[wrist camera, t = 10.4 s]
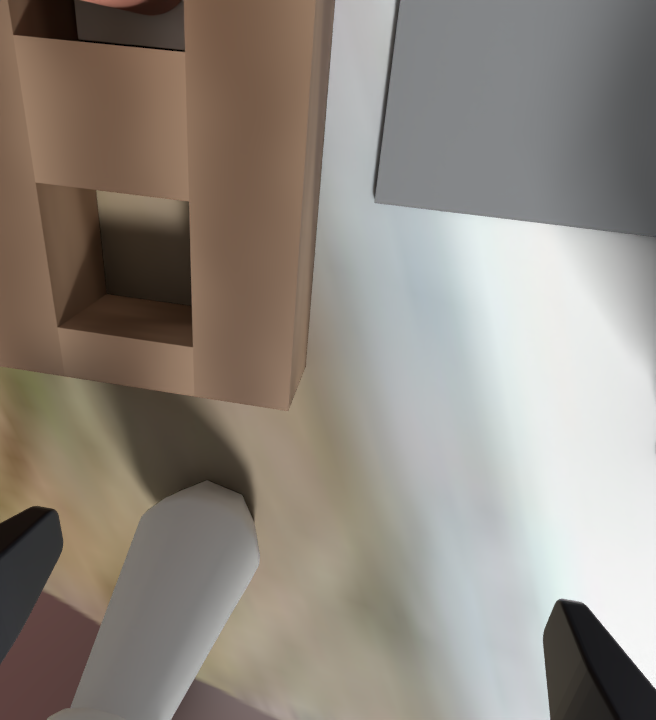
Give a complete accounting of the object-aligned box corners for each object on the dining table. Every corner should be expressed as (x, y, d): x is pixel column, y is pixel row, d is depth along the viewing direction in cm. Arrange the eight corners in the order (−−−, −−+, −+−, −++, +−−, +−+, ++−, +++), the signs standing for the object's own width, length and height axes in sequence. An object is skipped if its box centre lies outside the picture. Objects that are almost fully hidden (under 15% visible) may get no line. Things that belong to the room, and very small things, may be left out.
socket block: (353, -231, 14) (336, -316, 11) (305, 366, 23) (288, 411, 20) (-66, -253, 16) (-186, -337, 12) (34, 326, 24) (-23, 362, 21)
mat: (816, -152, 14) (824, -157, 14) (668, 236, 19) (672, 238, 18) (422, -176, 15) (423, -181, 14) (374, 201, 19) (374, 203, 19)
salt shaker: (174, 448, 26) (-20, 742, 14) (286, 494, 26) (185, 819, 15) (147, 530, 28) (-34, 832, 17) (249, 571, 29) (138, 896, 17)
